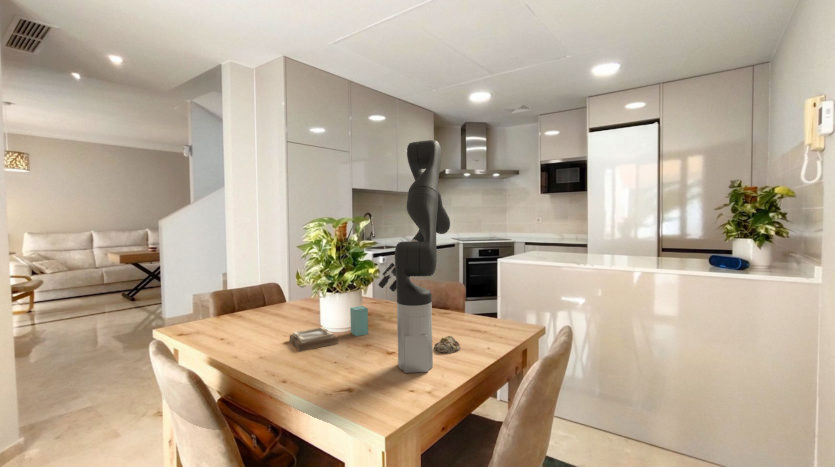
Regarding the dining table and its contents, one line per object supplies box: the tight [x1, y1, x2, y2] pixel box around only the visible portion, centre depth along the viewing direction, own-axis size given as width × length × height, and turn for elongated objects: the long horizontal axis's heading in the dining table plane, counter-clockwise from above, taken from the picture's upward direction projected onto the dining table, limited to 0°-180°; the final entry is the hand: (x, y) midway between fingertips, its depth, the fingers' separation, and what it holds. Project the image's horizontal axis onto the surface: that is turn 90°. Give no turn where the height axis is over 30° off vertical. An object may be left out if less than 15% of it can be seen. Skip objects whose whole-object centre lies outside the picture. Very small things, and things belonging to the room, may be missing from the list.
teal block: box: [349, 305, 369, 337], centre depth 131 cm, size 4×4×9 cm
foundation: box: [289, 326, 339, 352], centre depth 122 cm, size 12×12×3 cm
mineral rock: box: [433, 335, 461, 354], centre depth 115 cm, size 11×4×8 cm
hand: (385, 288), depth 136 cm, fingers open, 8 cm apart
